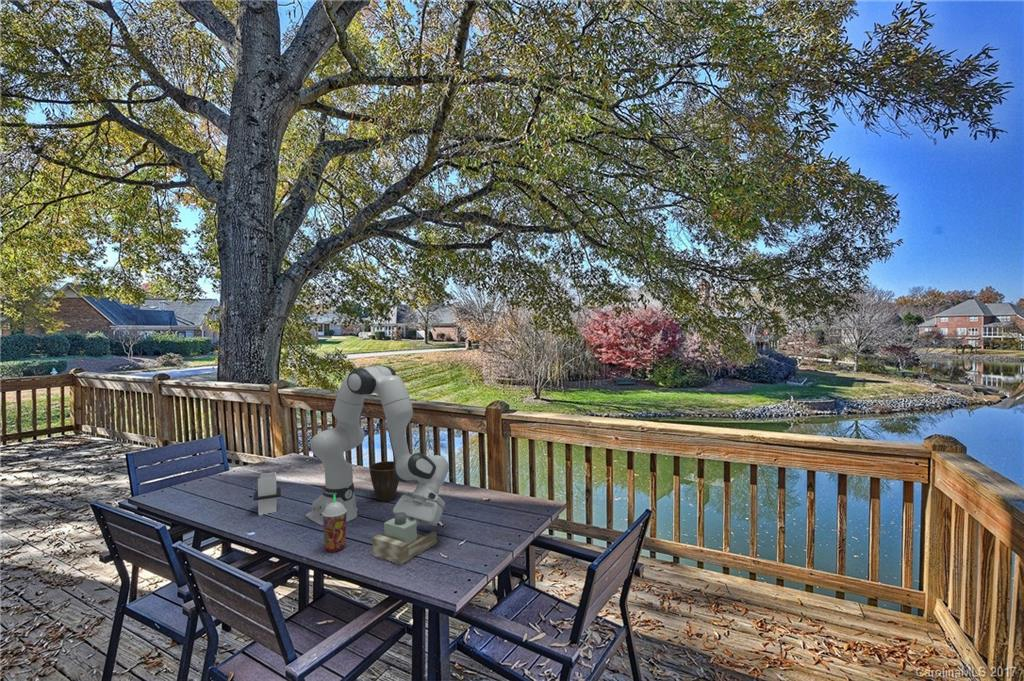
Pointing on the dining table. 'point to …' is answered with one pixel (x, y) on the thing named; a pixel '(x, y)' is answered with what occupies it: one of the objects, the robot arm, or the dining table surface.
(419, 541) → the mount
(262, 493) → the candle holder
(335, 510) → the smoothie
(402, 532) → the slider
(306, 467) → the dining table surface
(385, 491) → the plant pot
